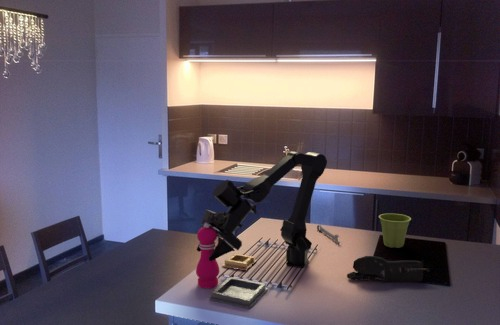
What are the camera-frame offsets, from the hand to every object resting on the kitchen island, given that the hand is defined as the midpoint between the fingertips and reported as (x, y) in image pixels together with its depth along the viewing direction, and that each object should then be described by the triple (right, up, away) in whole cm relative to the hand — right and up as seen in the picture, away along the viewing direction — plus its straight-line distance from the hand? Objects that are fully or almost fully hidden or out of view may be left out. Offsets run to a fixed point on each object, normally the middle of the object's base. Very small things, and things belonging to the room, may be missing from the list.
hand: (203, 255), depth 137 cm
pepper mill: (+1, -10, +2) cm, 10 cm away
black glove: (+58, -9, +6) cm, 59 cm away
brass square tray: (+11, -7, +18) cm, 22 cm away
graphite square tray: (+11, -11, -5) cm, 16 cm away
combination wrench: (+46, -3, +47) cm, 66 cm away
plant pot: (+70, -4, +37) cm, 79 cm away
